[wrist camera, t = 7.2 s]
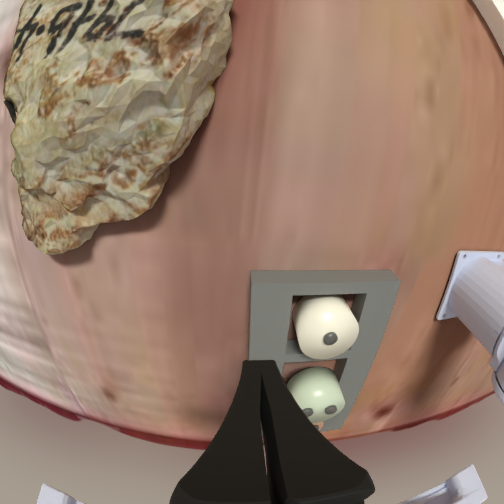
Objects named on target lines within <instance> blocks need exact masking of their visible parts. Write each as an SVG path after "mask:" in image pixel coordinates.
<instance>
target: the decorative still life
mask: <svg viewBox="0 0 504 504" xmlns="http://www.w3.org/2000/svg"><path fill="white" fill-rule="evenodd" d="M472 1H473V2H474V4H475V5H476V7H477V8H478V10H479V11H480V13H481V15H482V16H483V18H484V20H485V21H486V23H487V25H488V27H489V28H490V30H491V32H492V34H493V36H494V37H495V39H496V41H497V43H498V45H499V47H500V49H501V51H502V54H503V56H504V0H472Z"/></svg>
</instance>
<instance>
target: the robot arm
mask: <svg viewBox="0 0 504 504" xmlns="http://www.w3.org/2000/svg"><path fill="white" fill-rule="evenodd" d="M503 259H504V253H503V252H496V251H459V252H458V253H457V256H456V260H455V263H454V266H453V270H452V273H451V276H450V279H449V282H448V285H447V288H446V291H445V294H444V297H443V300H442V302H441V305H440V308H439V310H438V313H437V315H436V318H437V319H438V320H443V319H449V318H454V317H458V319H459V320H460V321H461V322H462V323H463V324H464V325H465V326H466V327H467V328H468V329H469V330H470V332H471V333H472V334H473V335H474V336H475V337H476V338H477V339H478V340H479V342H480V343H481V344H482V345H483V346H484V347H485V349H486V350H487V351H488V352H489V353H490V354H491V356H492V357H493V358H492V360H491V361H490V365H491V366H492V368H493V369H494V371H493V373H492V384H493V388H494V391H495V393H496V395H497V397H498V399H499V400H500V401H501V402H502V403H503V404H504V262H503ZM260 421H261V422H260ZM261 427H262V432H261ZM262 433H263V439H264V445H265V452H266V465H267V474H266V466H265V458H264V450H263V441H262ZM374 491H375V487H374V484H373V481H372V479H371V477H370V475H369V473H368V472H367V470H365V469H364V468H362V467H361V466H359V465H357V464H356V463H355V462H353V461H352V460H350V459H349V458H348V457H347V456H345V455H344V454H343V453H342V452H340V451H339V450H338V449H337V448H336V447H335V446H333V444H331V443H330V442H329V441H328V440H327V439H326V438H325V437H324V436H323V435H322V434H321V433H320V432H319V431H318V429H317V428H316V427H315V426H314V425H313V424H312V422H311V421H310V420H309V419H308V418H307V416H306V415H305V414H304V412H303V411H302V409H301V408H300V407H299V405H298V404H297V402H296V401H295V399H294V397H293V396H292V394H291V392H290V391H289V389H288V387H287V385H286V384H285V382H284V380H283V378H282V376H281V374H280V371H279V369H278V366H277V364H276V361H274V360H245V361H243V367H242V373H241V378H240V382H239V385H238V388H237V391H236V394H235V397H234V399H233V402H232V404H231V406H230V409H229V411H228V413H227V415H226V417H225V419H224V421H223V423H222V425H221V427H220V429H219V430H218V432H217V434H216V435H215V437H214V438H213V440H212V442H211V443H210V445H209V446H208V448H207V449H206V450H205V452H204V453H203V454H202V456H201V457H200V458H199V459H198V461H197V462H196V463H195V465H194V466H193V467H192V468H191V469H190V470H189V471H188V472H187V474H185V476H184V477H183V478H182V479H181V480H180V481H179V482H178V484H177V486H176V488H175V489H174V492H173V494H172V496H171V499H170V503H169V504H364V499H366V498H368V497H369V496H370V495H372V494H373V493H374ZM486 499H487V495H486V492H485V490H484V487H483V485H482V483H481V480H480V478H479V476H478V474H477V472H476V469H475V467H474V465H473V464H471V465H470V466H468V467H466V468H465V469H463V470H461V471H460V472H458V473H456V474H455V475H453V476H452V477H451V478H449V479H448V480H446V482H444V483H442V484H440V485H438V486H436V487H434V488H432V489H430V490H428V491H426V492H424V493H422V494H419V495H417V496H415V497H413V498H410V499H408V500H405V501H403V502H400V503H398V504H481V503H482V502H483V501H485V500H486ZM37 504H85V503H82V502H80V501H77V500H75V499H74V498H73V497H71V496H69V495H68V494H66V493H63V492H62V491H59V490H57V489H55V488H53V487H51V486H49V485H47V484H45V483H43V484H42V487H41V491H40V494H39V497H38V501H37Z"/></svg>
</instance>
